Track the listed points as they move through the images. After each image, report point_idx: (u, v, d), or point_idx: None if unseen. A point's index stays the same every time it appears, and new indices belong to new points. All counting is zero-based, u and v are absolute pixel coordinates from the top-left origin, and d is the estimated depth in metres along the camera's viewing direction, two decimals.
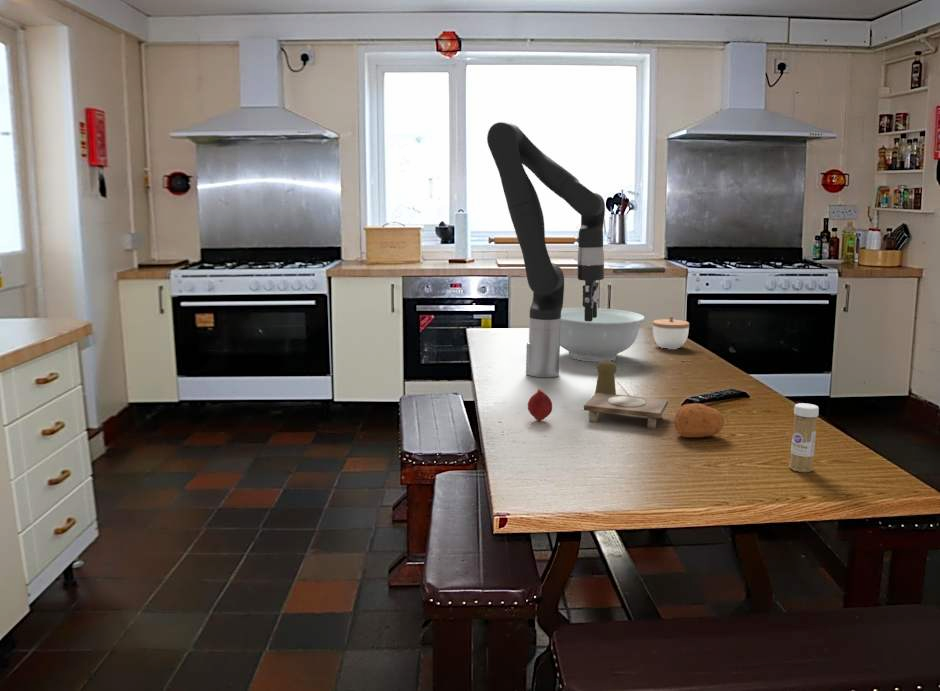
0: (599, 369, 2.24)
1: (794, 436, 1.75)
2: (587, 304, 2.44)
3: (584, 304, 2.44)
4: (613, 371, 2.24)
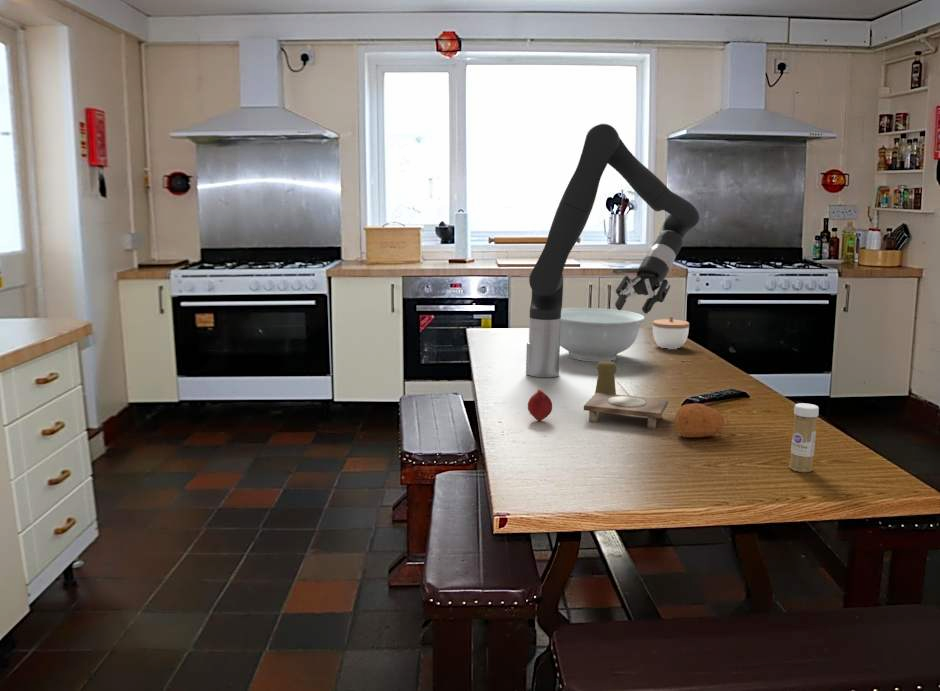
0: (599, 369, 2.24)
1: (794, 436, 1.75)
2: (661, 298, 2.29)
3: (660, 296, 2.28)
4: (613, 371, 2.24)
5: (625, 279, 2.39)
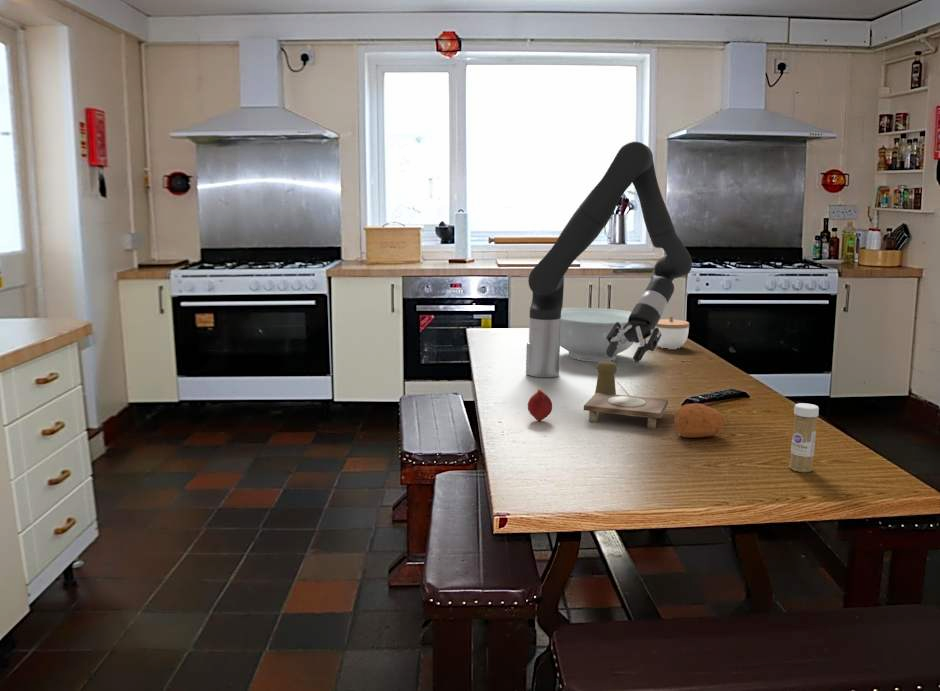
0: (599, 369, 2.24)
1: (794, 436, 1.75)
2: (652, 347, 2.27)
3: (651, 345, 2.26)
4: (613, 371, 2.24)
5: (616, 325, 2.37)
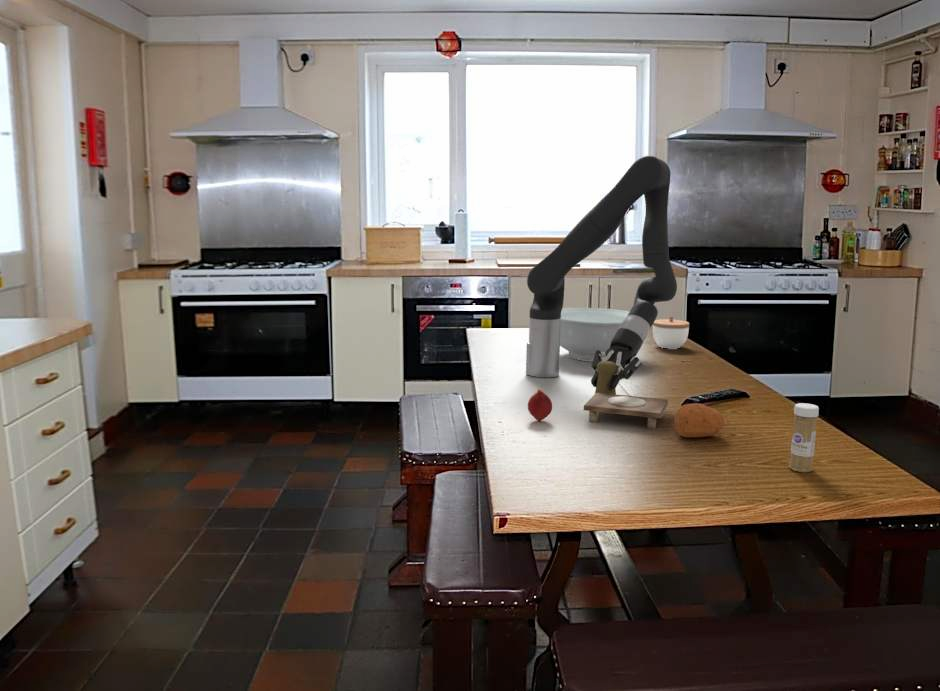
0: (599, 369, 2.24)
1: (794, 436, 1.75)
2: (627, 375, 2.24)
3: (625, 373, 2.23)
4: (613, 371, 2.24)
5: (597, 353, 2.32)
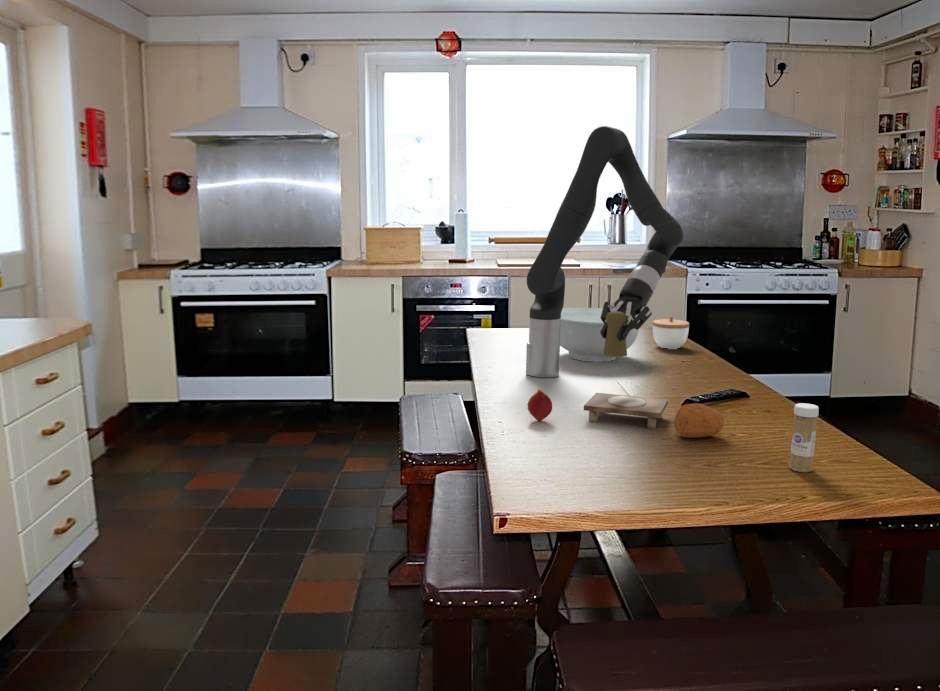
0: (609, 319, 2.18)
1: (794, 436, 1.75)
2: (637, 325, 2.17)
3: (635, 323, 2.17)
4: (623, 321, 2.18)
5: (606, 305, 2.26)
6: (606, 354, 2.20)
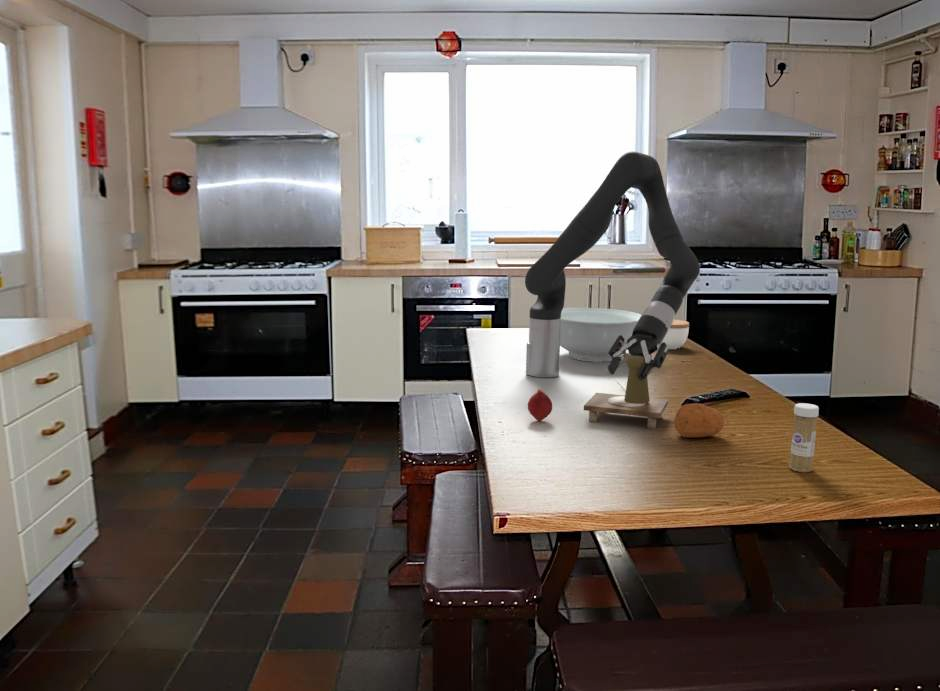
0: (631, 364, 2.08)
1: (794, 436, 1.75)
2: (659, 363, 2.06)
3: (657, 361, 2.05)
4: None
5: (619, 339, 2.16)
6: (628, 400, 2.09)
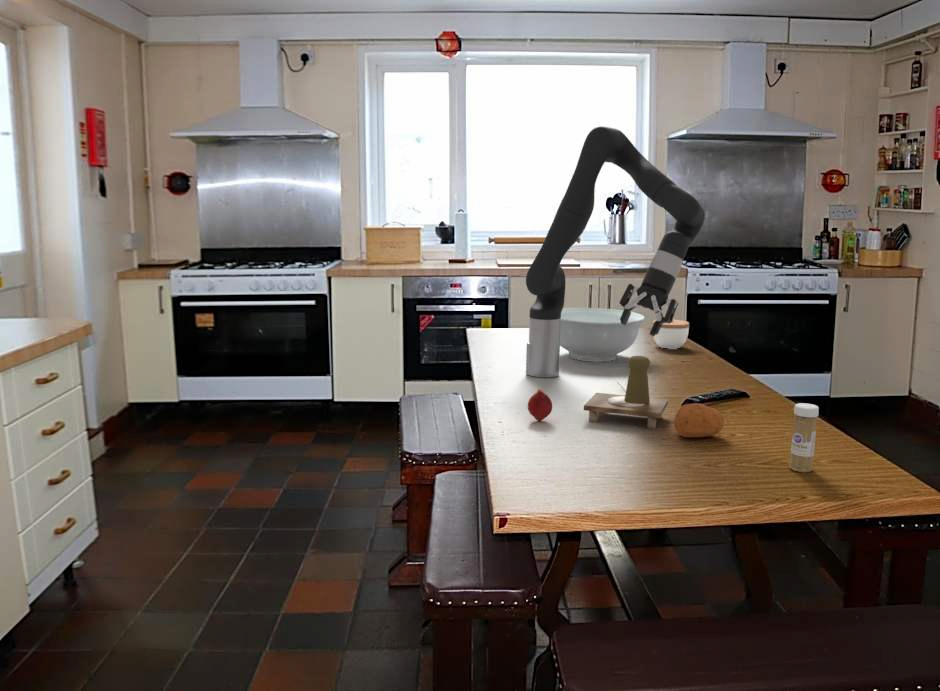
0: (632, 365, 2.08)
1: (794, 436, 1.75)
2: (669, 320, 2.19)
3: (668, 320, 2.19)
4: (647, 366, 2.08)
5: (629, 288, 2.25)
6: (628, 401, 2.09)
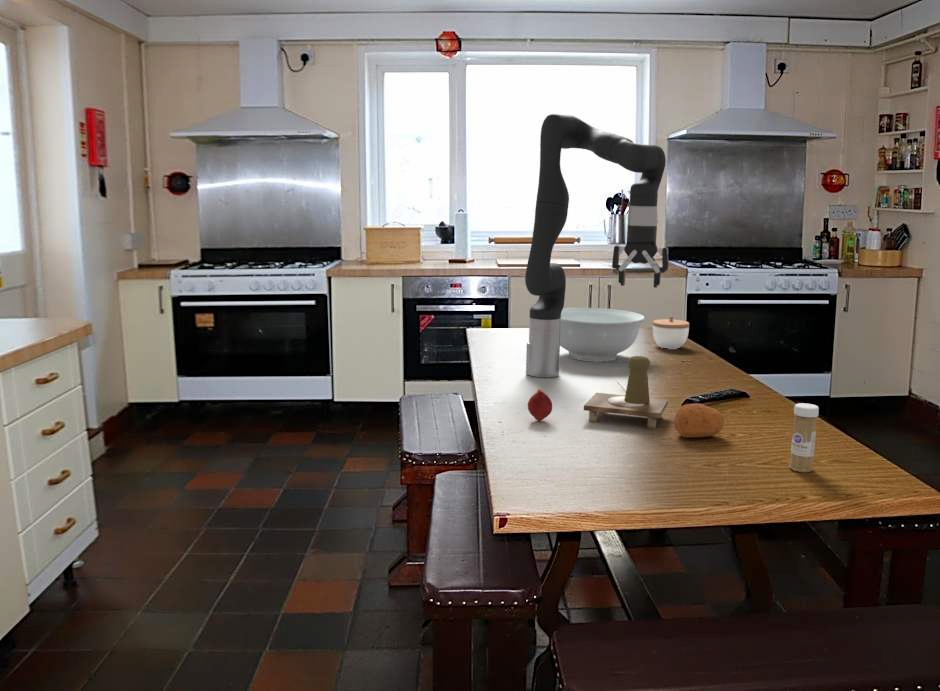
0: (632, 365, 2.08)
1: (794, 436, 1.75)
2: (667, 268, 2.24)
3: (666, 268, 2.23)
4: (646, 367, 2.08)
5: (616, 250, 2.27)
6: (628, 401, 2.09)
